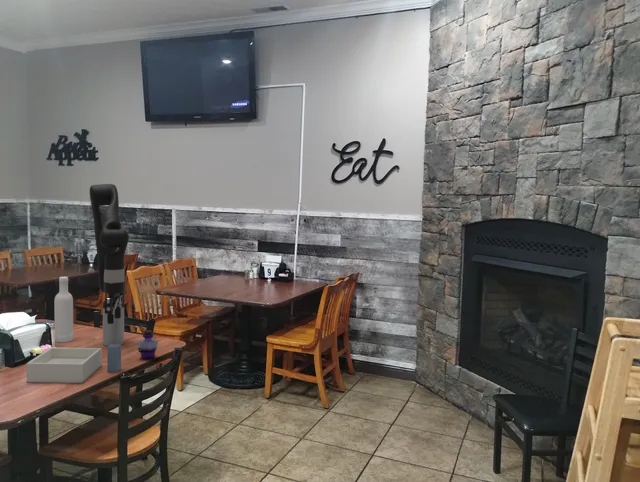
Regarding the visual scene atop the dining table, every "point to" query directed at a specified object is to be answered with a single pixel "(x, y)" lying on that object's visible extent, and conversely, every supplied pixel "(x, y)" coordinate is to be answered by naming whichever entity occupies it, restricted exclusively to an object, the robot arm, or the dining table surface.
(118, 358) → the peg
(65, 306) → the bottle
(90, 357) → the walled box
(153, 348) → the potion bottle
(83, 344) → the dining table surface
